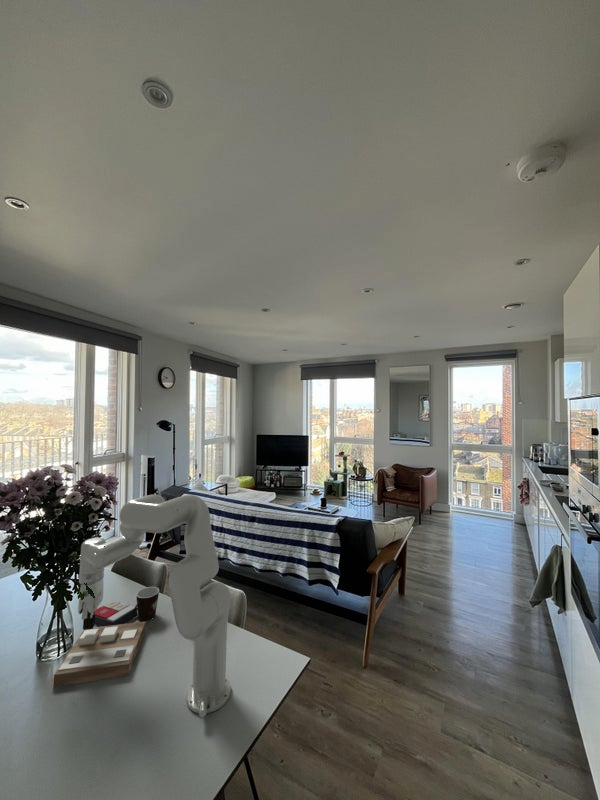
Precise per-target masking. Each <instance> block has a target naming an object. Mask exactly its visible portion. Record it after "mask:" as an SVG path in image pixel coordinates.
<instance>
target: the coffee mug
mask: <svg viewBox="0 0 600 800" xmlns="http://www.w3.org/2000/svg"><path fill="white" fill-rule="evenodd" d="M159 594H160V589H159V587H156V586H148V587H144V588H142V589H140V590H138V591H137V592H136V594H135V596H136V605H135V606H134V607H135V608H134V614H135V615H137V620H138V621H139V622H145V621H147V622H150V621H152V620H153V619H155V618H156V615H157V614H156V613H157V608H158V603H159V601H158V600H159ZM136 608H137V613H136ZM155 614H156V615H155ZM152 618H153V619H152ZM151 619H152V620H151ZM149 620H150V621H149Z"/></svg>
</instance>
